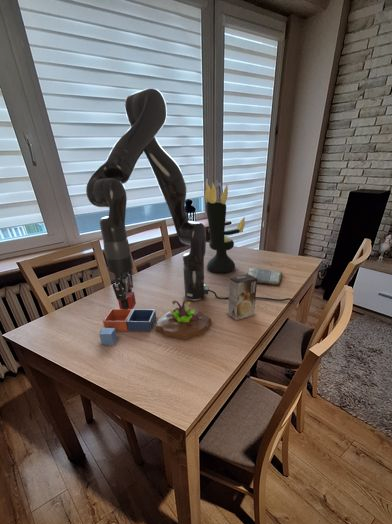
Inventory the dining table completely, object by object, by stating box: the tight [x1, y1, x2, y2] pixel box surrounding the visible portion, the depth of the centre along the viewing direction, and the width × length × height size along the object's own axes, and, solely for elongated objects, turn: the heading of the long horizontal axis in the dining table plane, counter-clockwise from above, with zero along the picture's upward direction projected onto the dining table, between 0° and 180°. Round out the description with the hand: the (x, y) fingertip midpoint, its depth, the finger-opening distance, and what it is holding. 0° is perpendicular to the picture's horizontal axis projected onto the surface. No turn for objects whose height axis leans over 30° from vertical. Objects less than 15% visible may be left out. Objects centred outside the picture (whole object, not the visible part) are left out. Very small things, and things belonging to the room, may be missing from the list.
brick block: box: [117, 291, 137, 310], centre depth 92 cm, size 4×4×4 cm
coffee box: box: [227, 273, 258, 321], centre depth 111 cm, size 9×6×16 cm
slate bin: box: [127, 308, 157, 332], centre depth 110 cm, size 9×11×4 cm
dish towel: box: [247, 267, 283, 286], centre depth 149 cm, size 19×18×3 cm
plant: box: [155, 299, 212, 340], centre depth 106 cm, size 20×20×11 cm
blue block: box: [98, 327, 118, 346], centre depth 100 cm, size 4×4×4 cm
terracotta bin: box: [102, 308, 134, 332], centre depth 110 cm, size 9×11×4 cm
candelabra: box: [204, 182, 246, 274], centre depth 149 cm, size 19×22×45 cm
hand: (127, 305), depth 93 cm, fingers closed on brick block, 4 cm apart
